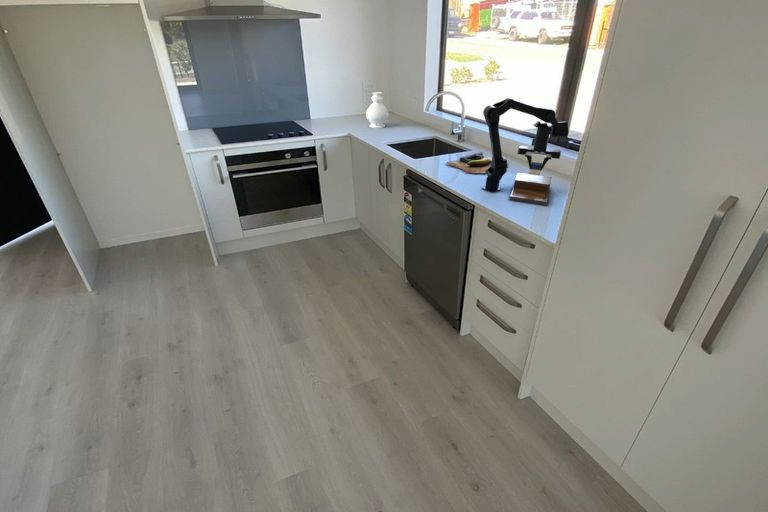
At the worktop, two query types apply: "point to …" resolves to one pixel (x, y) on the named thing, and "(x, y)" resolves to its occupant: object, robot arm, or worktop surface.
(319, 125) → the worktop surface
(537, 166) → the blue sleeved eraser
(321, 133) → the worktop surface
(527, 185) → the brown wooden cabinet
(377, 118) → the decorative vase
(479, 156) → the door handle
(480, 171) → the cutting board
